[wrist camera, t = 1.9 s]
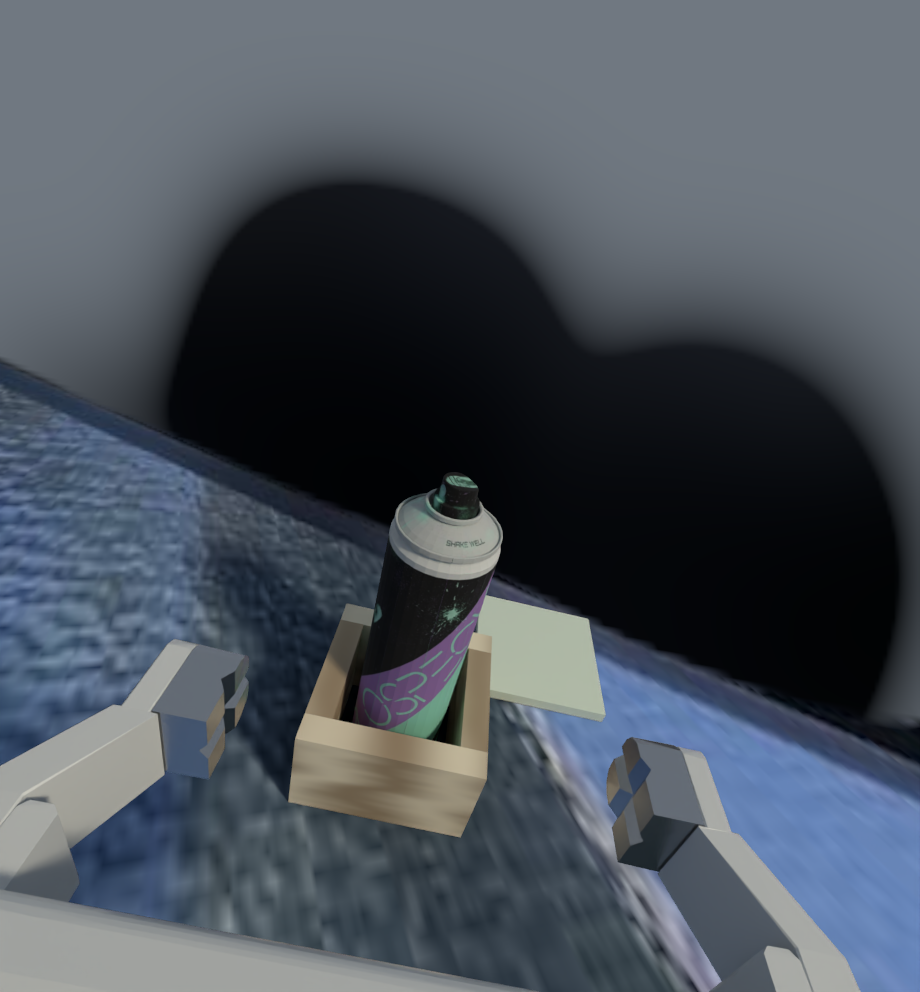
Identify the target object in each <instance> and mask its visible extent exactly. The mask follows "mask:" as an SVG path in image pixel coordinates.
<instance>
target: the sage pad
mask: <svg viewBox="0 0 920 992" xmlns="http://www.w3.org/2000/svg"><path fill="white" fill-rule="evenodd" d="M476 633H479V634H483V635H488V636H492V650H491V677H490V697H492V698H496V699H501V700H505V701H510V702H514V703H519V704H523V705H528V706H532V707H537V708H541V709H546V710H550V711H555V712H559V713H564V714H568V715H573V716H577V717H582V718H587V719H591V720H596V721H600V722H602V720H603V719H604V717H605V709H604V704H603V698H602V693H601V687H600V682H599V676H598V671H597V665H596V660H595V654H594V649H593V643H592V637H591V632H590V626H589V621H588V619H586V618H582V617H577V616H573V615H569V614H564V613H560V612H556V611H551V610H547V609H543V608H538V607H534V606H530V605H525V604H521V603H517V602H512V601H508V600H504V599H499V598H495V597H491V596H485V599H484V602H483V605H482V608H481V611H480V614H479V617H478V620H477V623H476Z"/></svg>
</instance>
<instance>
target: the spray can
mask: <svg viewBox="0 0 920 992" xmlns="http://www.w3.org/2000/svg"><path fill="white" fill-rule="evenodd" d="M477 494H478V487H477V486H476V485H475V484H474V483H473V482H472V481H471V480H470V479H469V478H468V477H467V476H465V475H463V474H461V473H457V472H451V473H447V474H446V475H445V476H444V478H443V481H442V484H441V487H439V488H437V489H434V490H432V491H430V492H429V493H425V494H419V495H415V496H412V497H410V498H408V499H406V500H404V501H403V502H402V503H401V504H400V505H399V507H398V508H397V510H396V514H395V518H394V520H393V521H392V523H391V528H390V532H389V538H388V543H387V548H386V553H385V558H384V563H383V568H382V573H381V578H380V583H379V588H378V593H377V598H376V604H375V609H374V614H373V619H372V624H371V629H370V634H369V639H368V644H367V649H366V654H365V659H364V664H363V670H362V675H361V680H360V685H359V690H358V695H357V700H356V705H355V710H354V715H353V720H352V723H353V724H358V725H362V726H367V727H372V728H376V729H381V730H386V731H390V732H395V733H400V734H404V735H409V736H413V737H418V738H423V739H427V740H432V741H436V740H437V737H438V734H439V731H440V728H441V725H442V722H443V720H444V717H445V714H446V711H447V708H448V705H449V702H450V699H451V696H452V693H453V690H454V687H455V684H456V681H457V678H458V675H459V673H460V670H461V667H462V664H463V661H464V658H465V655H466V652H467V649H468V646H469V643H470V640H471V637H472V634H473V631H474V629H475V626H476V623H477V620H478V617H479V614H480V611H481V608H482V605H483V602H484V599H485V596H486V593H487V590H488V587H489V584H490V582H491V579H492V576H493V573H494V570H495V567H496V564H497V560H498V558H499V554H500V545H501V542H502V538H503V535H502V529H501V527H500V524H499V523H498V522H497V520H496V519H495V518H494V516H493V515H491V513H490V512H488V511H487V510H486V509H484V508H483V505H482V504H481V502H480V501H479V499H478V497H477Z"/></svg>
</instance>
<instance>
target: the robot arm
mask: <svg viewBox="0 0 920 992" xmlns="http://www.w3.org/2000/svg"><path fill="white" fill-rule="evenodd" d="M248 668H249V656H245V655H241V654H236V653H232V652H228V651H224V650H220V649H216V648H212V647H207V646H203V645H199V644H195V643H190V642H186V641H181V640H177V639H174V640H172V641H171V642H170V643H168V644H167V645H166V646H165V647H164V649H163V650H162V651H161V653H160V654H159V655H158V657H157V658H156V659H155V661H154V662H153V664H152V665H151V666H150V668H149V669H148V670H147V672H146V673H145V674H144V676H143V677H142V678H141V680H140V681H139V682H138V684H137V685H136V686H135V688H134V689H133V690H132V692H131V693H130V694H129V696H128V697H127V698H126V700H125V701H124V702H123V704H122V705H121V706H120V705H114V704H113V705H111V706H110V707H108V708H106V709H104V710H102V711H100V712H98V713H97V714H95V715H93V716H91V717H89V718H87V719H86V720H84V721H82V722H80V723H78V724H76V725H75V726H73V727H71V728H69V729H67V730H65V731H64V732H62V733H60V734H58V735H56V736H54V737H52V738H51V739H49V740H47V741H45V742H43V743H41V744H40V745H38V746H36V747H34V748H32V749H30V750H29V751H27V752H25V753H23V754H21V755H19V756H17V757H16V758H14V759H12V760H10V761H8V762H6V763H5V764H3V765H1V766H0V992H539V991H533V990H528V989H523V988H518V987H512V986H507V985H502V984H497V983H491V982H486V981H481V980H476V979H470V978H465V977H460V976H455V975H449V974H444V973H439V972H434V971H428V970H423V969H418V968H413V967H407V966H402V965H397V964H392V963H386V962H381V961H376V960H371V959H365V958H360V957H355V956H350V955H344V954H339V953H334V952H329V951H323V950H318V949H313V948H307V947H302V946H297V945H292V944H286V943H281V942H276V941H271V940H265V939H260V938H255V937H250V936H244V935H239V934H234V933H228V932H223V931H218V930H213V929H207V928H202V927H197V926H192V925H186V924H181V923H176V922H171V921H165V920H160V919H155V918H150V917H144V916H139V915H134V914H128V913H123V912H118V911H113V910H107V909H102V908H97V907H92V906H86V905H81V904H76V903H71V902H69V900H70V899H71V897H72V895H73V894H74V892H75V890H76V889H77V887H78V885H79V884H80V882H79V877H78V873H77V870H76V867H75V864H74V861H73V858H72V855H71V852H70V849H71V848H72V847H73V846H74V845H76V844H77V843H78V842H80V841H81V840H82V839H83V838H85V837H86V836H87V835H88V834H90V833H91V832H92V831H94V830H95V829H96V828H97V827H99V826H100V825H101V824H102V823H104V822H105V821H106V820H108V819H109V818H110V817H111V816H113V815H114V814H115V813H116V812H118V811H119V810H120V809H122V808H123V807H124V806H125V805H127V804H128V803H129V802H130V801H132V800H133V799H134V798H136V797H137V796H138V795H139V794H141V793H142V792H143V791H144V790H146V789H147V788H148V787H150V786H151V785H152V784H153V783H155V782H156V781H157V780H158V779H160V778H161V777H162V776H164V774H165V772H169V773H175V774H181V775H187V776H193V777H198V778H204V779H209V778H210V776H211V774H212V772H213V770H214V768H215V766H216V764H217V762H218V760H219V758H220V757H221V755H222V753H223V751H224V749H225V734H226V733H228V732H229V731H231V730H232V729H234V728H235V727H236V725H237V723H238V721H239V718H240V716H241V714H242V711H243V708H244V706H245V703H246V699H247V694H248V686H249V682H248V680H247V679H246V678H245V677H244V676H245V674H246V672H247V670H248ZM622 749H623V754H624V755H622V756H620V757H618V758H616V759H614V761H613V762H612V764H611V766H610V768H609V771H608V777H607V798H608V805H609V807H610V808H611V809H612V811H613V812H614V814H615V815H616V816H617V820H616V821H615V823H614V825H613V827H612V830H613V836H614V842H615V848H616V854H617V860H618V862H619V863H624V864H628V865H632V866H636V867H641V868H645V869H649V870H654V871H658V872H659V873H658V875H659V877H660V879H661V880H662V882H663V884H664V885H665V887H666V889H667V890H668V892H669V894H670V895H671V897H672V899H673V900H674V902H675V904H676V905H677V907H678V909H679V910H680V912H681V914H682V915H683V917H684V919H685V920H686V922H687V924H688V925H689V927H690V929H691V930H692V932H693V934H694V935H695V937H696V939H697V940H698V942H699V944H700V946H701V947H702V949H703V951H704V952H705V954H706V956H707V957H708V959H709V961H710V962H711V964H712V966H713V967H714V969H715V971H716V972H717V974H718V976H719V977H720V979H721V981H722V982H721V983H719V984H718V985H717V986H716V987H714V988H713V989H712V990H711V991H709V992H860V990H859V988H858V985H857V983H856V981H855V978H854V976H853V974H852V972H851V969H850V967H849V965H848V962H847V960H846V959H845V957H844V956H843V955H842V954H841V953H840V952H839V950H838V949H837V948H836V947H835V946H834V945H833V943H832V942H831V941H830V940H829V939H828V938H827V936H826V935H825V934H824V933H823V932H822V931H821V929H820V928H819V927H818V926H817V925H816V924H815V922H814V921H813V920H812V919H811V918H810V917H809V915H808V914H807V913H806V912H805V911H804V910H803V908H802V907H801V906H800V905H799V904H798V903H797V901H796V900H795V899H794V898H793V897H792V896H791V894H790V893H789V892H788V891H787V890H786V889H785V887H784V886H783V885H782V884H781V883H780V882H779V880H778V879H777V878H776V877H775V876H774V875H773V873H772V872H771V871H770V870H769V869H768V868H767V867H766V865H765V864H764V863H763V862H762V861H761V860H760V858H759V857H758V856H757V855H756V854H755V853H754V851H753V850H752V849H751V848H750V847H749V846H748V844H747V843H746V842H745V841H744V840H743V839H742V837H741V836H740V835H739V834H736V833H732V832H731V829H730V826H729V823H728V821H727V818H726V815H725V812H724V809H723V806H722V804H721V801H720V798H719V795H718V792H717V789H716V787H715V784H714V781H713V778H712V775H711V772H710V769H709V767H708V764H707V761H706V758H705V757H704V755H703V754H702V753H701V752H699V751H695V750H690V749H685V748H680V747H676V746H674V745H669V744H664V743H659V742H654V741H649V740H644V739H638V738H633V737H631V738H629V739H627V740H626V742H625V743H624V745H623V746H622Z"/></svg>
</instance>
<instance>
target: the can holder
mask: <svg viewBox="0 0 920 992" xmlns="http://www.w3.org/2000/svg"><path fill="white" fill-rule="evenodd" d="M373 614H374V610H373V609H369V608H364V607H360V606H356V605H351V604H346V607H345V610H344V612H343V615H342V618H341V620H340V623H339V625H338V628H337V631H336V633H335V636H334V638H333V641H332V644H331V646H330V649H329V652H328V654H327V657H326V659H325V662H324V665H323V667H322V670H321V672H320V675H319V678H318V680H317V683H316V685H315V688H314V691H313V693H312V696H311V699H310V701H309V704H308V706H307V709H306V712H305V714H304V717H303V719H302V722H301V725H300V727H299V730H298V733H297V735H296V738H295V745H294V754H293V763H292V772H291V781H290V791H289V800H288V802H292V803H297V804H302V805H306V806H311V807H316V808H321V809H326V810H331V811H335V812H340V813H345V814H350V815H355V816H360V817H364V818H369V819H374V820H379V821H384V822H389V823H393V824H398V825H403V826H408V827H413V828H417V829H422V830H427V831H432V832H437V833H442V834H446V835H451V836H456V837H461V835H462V833H463V831H464V829H465V826H466V824H467V822H468V820H469V818H470V815H471V813H472V811H473V809H474V806H475V804H476V802H477V800H478V798H479V795H480V793H481V791H482V789H483V787H484V784H485V782H486V780H487V758H488V731H489V704H490V677H491V650H492V636H488V635H483V634H479V633H475V632H473V634H472V637H471V640H470V643H469V646H468V649H467V652H466V655H465V658H464V661H463V664H462V667H461V670H460V673H459V675H458V678H457V681H456V684H455V687H454V690H453V693H452V696H451V699H450V702H449V705H448V706H449V713H448V722H447V731H446V740H445V743H441V742H437V741H432V740H427V739H423V738H418V737H413V736H409V735H404V734H400V733H395V732H390V731H386V730H381V729H376V728H372V727H367V726H362V725H358V724H353V723H349V722H344V721H341V720H342V717H343V714H344V710H345V707H346V704H347V701H348V697H349V694H350V691H351V688H352V685H356V686H359V685H360V680H361V675H362V670H363V664H364V659H365V654H366V649H367V644H368V639H369V634H370V629H371V624H372V619H373Z"/></svg>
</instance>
